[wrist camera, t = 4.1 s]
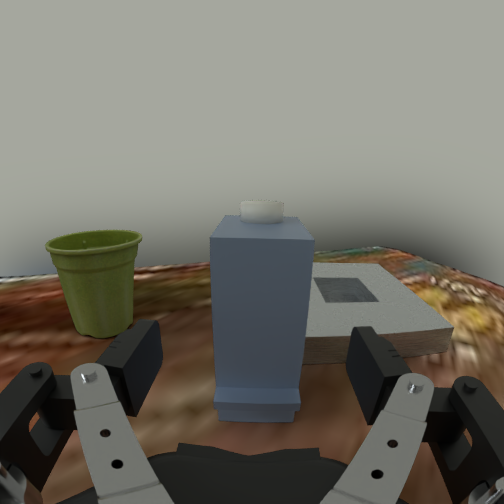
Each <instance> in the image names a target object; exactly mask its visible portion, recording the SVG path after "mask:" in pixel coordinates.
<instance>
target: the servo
mask: <svg viewBox="0 0 504 504" xmlns="http://www.w3.org/2000/svg"><path fill="white" fill-rule="evenodd" d="M314 242H315V240H314V239H313V237H312V236H311V235H310V233H309V232H308V230H307V229H306V228H305V227H304V225H303V224H302V223H301V221H300V220H299V219H298V218H297V217H283V203H282V202H277V201H265V200H250V201H242V202H240V216H233V215H232V216H231V215H230V216H229V215H226V216H225V217H224V218H223V220H222V221H221V223H220V224H219V225H218V226H217V228H216V229H215V231H214V232H213V233H212V235H211V237H210V270H211V300H212V324H213V343H214V361H215V376H216V390H215V396H214V401H213V403H214V409H218V416H219V421H235V422H293V420H294V414H295V411H300V406H301V401H300V394H299V382H300V375H301V368H302V360H303V353H304V345H305V337H306V328H307V319H308V310H309V301H310V290H311V280H312V268H313V256H314Z"/></svg>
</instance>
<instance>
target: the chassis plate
mask: <svg viewBox="0 0 504 504" xmlns="http://www.w3.org/2000/svg"><path fill="white" fill-rule="evenodd" d="M357 326H372V327H373V329H374V330H375V332H376V333H377V335H378V336H379V337H384V338H385V339H387V340H388V341H390V342H391V343H392V344H393V346H394V347H395V348H396V351H398V353H399V354H400V357H402V358H404V357H412V356H420V355H427V354H434V353H440V352H446V351H447V348H448V345H449V342H450V339H451V336H452V332H453V329H454V327H453V326H452V325H451V324H450V323H449V322H448V321H447V320H445V319H444V318H443V317H442V316H441V315H440V314H439V313H437V312H436V311H435V310H434V309H433V308H432V307H430V306H429V305H428V304H427V303H426V302H424V301H423V300H422V299H421V298H420V297H418V296H417V295H416V294H415V293H414V292H412V291H411V290H410V289H409V288H407V287H406V286H405V285H404V284H402V283H401V282H400V281H399V280H398V279H396V278H395V277H394V276H393V275H391V274H390V273H389V272H387V271H386V270H385V269H384V268H382V267H381V266H380V265H379V264H359V263H313V268H312V280H311V290H310V301H309V310H308V319H307V328H306V337H305V345H304V353H303V360H302V364H328V363H346V358H347V353H348V348H349V342H350V337H351V332H352V329H353V327H357Z"/></svg>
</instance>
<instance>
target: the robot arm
mask: <svg viewBox="0 0 504 504" xmlns="http://www.w3.org/2000/svg"><path fill="white" fill-rule="evenodd" d="M162 360H163V351H162V344H161V336H160V329H159V323H158V321H156V320H146V319H139V320H138V321H137V323H136V324H135V325H134V326H133V328H132V329H127V330H125V331H123V332H122V333H120V334H118V336H117V337H116V338H115V339H114V340H113V342H112V343H111V344H110V345H109V347H108V348H107V349H106V350H105V351H104V353H103V354H102V355H101V356H100V357H99V359H98V360H97V361H96V362H95V363H87V364H83V365H80V366H78V367H76V368H75V369H74V370H73V371H72V373H71V375H54V373H53V371H52V368H51V366H50V365H49V364H47V363H43V362H36V363H32V364H29V365H27V366H26V367H24V368H23V369H22V370H21V371H20V372H19V374H18V375H17V376H16V377H15V378H14V379H13V380H12V381H11V382H10V383H9V384H8V385H7V387H6V388H5V389H4V390H3V391H2V392H1V393H0V504H43V498H42V496H41V494H40V493H41V491H42V489H43V487H44V485H45V483H46V481H47V479H48V477H49V475H50V473H51V471H52V469H53V467H54V465H55V463H56V461H57V460H58V458H59V456H60V454H61V452H62V450H63V448H64V446H65V445H66V443H67V441H68V439H69V437H70V435H71V434H72V432H73V430H78V433H79V437H80V441H81V445H82V448H83V452H84V455H85V459H86V462H87V466H88V469H89V472H90V475H91V478H92V481H93V484H94V486H93V487H91V488H89V489H87V490H85V491H83V492H81V493H79V494H77V495H74V496H72V497H70V498H68V499H66V500H63V501H61V502H59V503H56V504H409V503H407V502H405V501H404V500H402V499H400V498H399V495H400V493H401V491H402V489H403V486H404V484H405V482H406V480H407V477H408V475H409V473H410V470H411V468H412V465H413V463H414V460H415V457H416V455H417V452H418V449H419V447H420V444H421V442H428V444H429V446H430V448H431V450H432V453H433V455H434V457H435V460H436V462H437V465H438V467H439V469H440V472H441V474H442V477H443V479H444V482H445V484H446V487H447V489H448V492H449V495H450V497H451V500H452V503H453V504H504V410H503V409H502V407H501V406H500V405H499V404H498V402H497V401H496V400H495V398H494V397H493V396H492V394H491V393H490V392H489V391H488V389H487V388H486V387H485V385H484V384H483V383H482V382H481V381H480V380H478V379H476V378H474V377H470V376H462V377H459V378H457V379H456V380H455V381H454V384H453V386H452V388H438V387H434V384H433V382H432V381H431V380H430V379H429V378H427V377H426V376H424V375H421V374H417V373H412V371H411V370H410V368H409V367H408V366H407V364H406V363H405V361H404V360H403V358H402V357H400V354H399V353H398V351H396V348H395V347H394V346H393V344H392V343H391V342H390V341H388V340H387V339H385V338H384V337H379V336H378V335H377V333H376V332H375V330H374V329H373V327H372V326H357V327H353V329H352V332H351V337H350V342H349V348H348V353H347V358H346V370H347V373H348V376H349V378H350V381H351V384H352V386H353V389H354V391H355V394H356V396H357V399H358V401H359V404H360V407H361V409H362V412H363V414H364V417H365V420H366V422H367V425H373V426H372V428H371V430H370V432H369V433H368V435H367V437H366V439H365V440H364V442H363V444H362V445H361V447H360V448H359V450H358V452H357V453H356V455H355V456H354V458H353V460H352V461H351V463H350V464H349V465H347V464H345V463H342V462H340V461H337V460H333V459H329V458H324V457H320V453H319V448H307V449H284V450H279V451H274V452H269V453H263V454H257V455H251V456H247V455H242V454H238V453H234V452H230V451H226V450H222V449H219V448H215V447H211V446H201V445H192V444H185V443H179V444H178V448H177V451H176V452H168V453H162V454H158V455H154V456H151V457H148V458H146V456H145V454H144V452H143V450H142V448H141V446H140V444H139V442H138V440H137V438H136V436H135V434H134V432H133V430H132V428H131V426H130V423H129V421H128V419H127V417H126V415H128V416H132V417H137V414H138V412H139V410H140V408H141V406H142V404H143V402H144V400H145V398H146V396H147V394H148V392H149V390H150V388H151V386H152V384H153V382H154V379H155V377H156V375H157V373H158V371H159V369H160V367H161V365H162ZM36 412H37V413H38V415H39V417H40V418H39V419H38V421H37V422H36V424H35V425H34V427H33V428H32V430H31V431H30V432H29V422H30V420H31V419H32V417H33V416H34V415H35V413H36ZM466 428H467V430H468V432H469V433H470V435H471V437H472V448H471V446H470V444H469V442H468V440H467V439H466V437H465V435H464V433H463V432H464V431H465V429H466Z"/></svg>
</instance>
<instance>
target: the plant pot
mask: <svg viewBox="0 0 504 504" xmlns="http://www.w3.org/2000/svg"><path fill="white" fill-rule="evenodd" d="M141 241H142V235H141V234H140V233H138V232H134V231H128V230H97V231H86V232H79V233H72V234H68V235H64V236H60V237H57V238H55V239H52V240H50V241H48V242H47V243H46V244H45V247H46V250H47V251H48V252H50V254H51V258H52V261H53V264H54V265H55V267H56V268H57V272H58V275H59V279H60V282H61V286H62V289H63V292H64V295H65V299H66V302H67V305H68V308H69V311H70V314H71V317H72V319H73V322H74V325H75V328H76V330H77V331H78V332H79V333H80V334H81V335H91V336H93V337H95V338H107V337H112V336H115V335H118V334H120V333H122V332H123V331H125V330H127V328H128V326H129V325H130V324H132V323H133V282H134V261H135V257H136V256H137V250H138V243H140V242H141Z"/></svg>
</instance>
